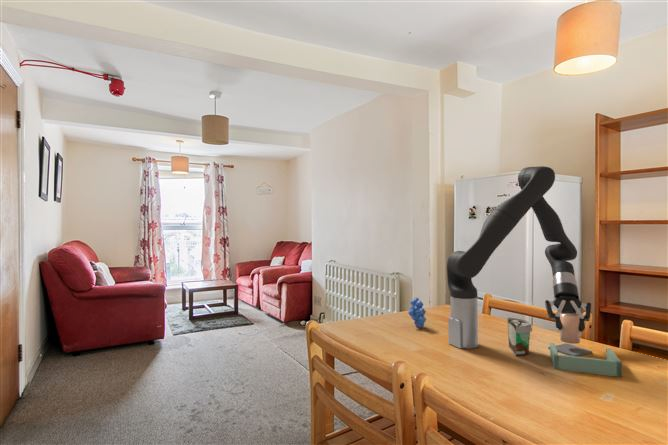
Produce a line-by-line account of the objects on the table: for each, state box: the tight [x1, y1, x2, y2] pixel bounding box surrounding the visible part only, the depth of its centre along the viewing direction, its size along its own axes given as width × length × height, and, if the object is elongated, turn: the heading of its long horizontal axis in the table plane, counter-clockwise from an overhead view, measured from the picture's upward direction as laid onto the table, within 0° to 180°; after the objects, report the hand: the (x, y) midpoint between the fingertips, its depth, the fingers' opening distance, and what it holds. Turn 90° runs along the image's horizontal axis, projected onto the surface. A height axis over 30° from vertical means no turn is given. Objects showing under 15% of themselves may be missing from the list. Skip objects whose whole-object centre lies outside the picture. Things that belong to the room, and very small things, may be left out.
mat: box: [547, 342, 593, 357], centre depth 128 cm, size 9×9×1 cm
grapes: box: [408, 296, 427, 328], centre depth 161 cm, size 12×7×12 cm, turn 13°
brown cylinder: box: [559, 312, 581, 345], centre depth 128 cm, size 6×6×9 cm
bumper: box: [549, 342, 623, 378], centre depth 116 cm, size 13×16×4 cm
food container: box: [506, 317, 533, 357], centre depth 128 cm, size 12×6×10 cm, turn 168°
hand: (570, 329), depth 127 cm, fingers closed on brown cylinder, 5 cm apart
